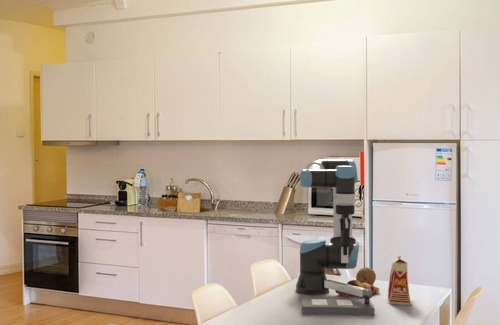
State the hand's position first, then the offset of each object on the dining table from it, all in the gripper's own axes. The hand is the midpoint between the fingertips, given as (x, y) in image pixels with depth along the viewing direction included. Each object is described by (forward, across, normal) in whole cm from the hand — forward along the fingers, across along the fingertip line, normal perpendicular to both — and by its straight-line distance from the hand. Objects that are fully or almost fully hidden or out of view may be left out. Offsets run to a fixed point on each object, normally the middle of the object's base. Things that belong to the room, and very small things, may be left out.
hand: (344, 262), depth 226 cm
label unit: (+19, 0, -3) cm, 20 cm away
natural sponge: (+20, -36, +14) cm, 43 cm away
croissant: (+20, -25, +9) cm, 33 cm away
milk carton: (+20, -15, +25) cm, 35 cm away
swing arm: (+14, -7, +2) cm, 16 cm away
